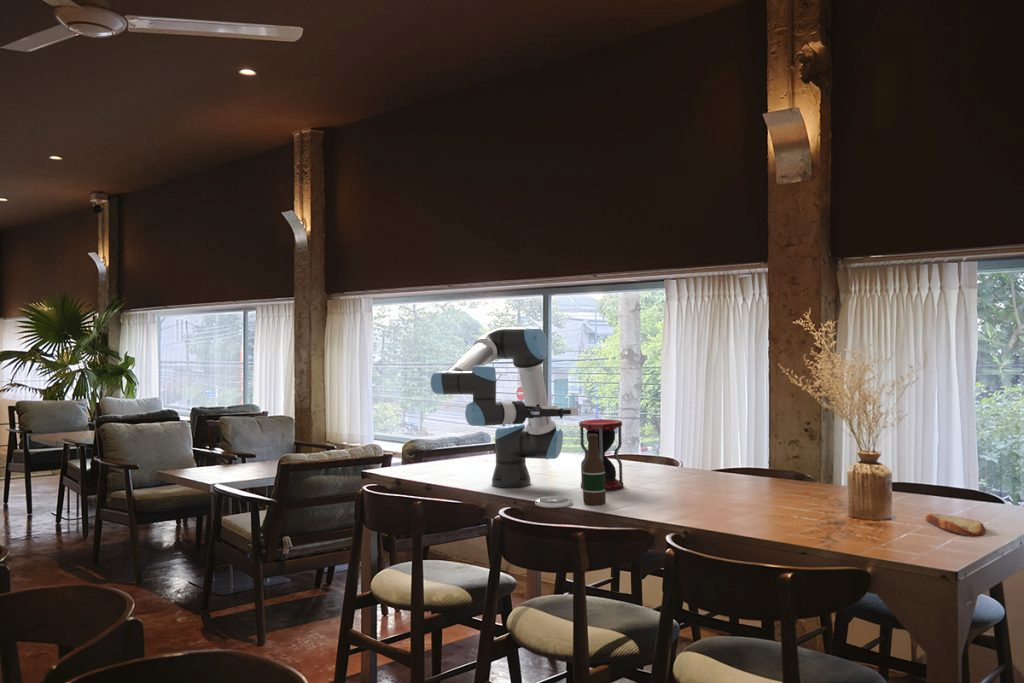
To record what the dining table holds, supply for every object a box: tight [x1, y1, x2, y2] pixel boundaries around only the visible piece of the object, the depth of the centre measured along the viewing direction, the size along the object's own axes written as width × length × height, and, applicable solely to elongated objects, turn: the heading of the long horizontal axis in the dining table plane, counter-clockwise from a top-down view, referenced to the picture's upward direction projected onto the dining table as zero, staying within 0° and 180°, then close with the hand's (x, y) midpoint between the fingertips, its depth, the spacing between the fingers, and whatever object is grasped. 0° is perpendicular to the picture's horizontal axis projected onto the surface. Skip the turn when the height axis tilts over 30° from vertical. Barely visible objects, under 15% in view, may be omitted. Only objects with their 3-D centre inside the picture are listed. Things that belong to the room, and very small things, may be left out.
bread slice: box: [924, 512, 987, 538], centre depth 240 cm, size 18×18×4 cm
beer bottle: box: [582, 434, 607, 506], centre depth 284 cm, size 8×8×24 cm
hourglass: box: [578, 418, 624, 492], centre depth 312 cm, size 16×16×25 cm
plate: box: [534, 495, 574, 509], centre depth 285 cm, size 13×13×1 cm
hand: (567, 410), depth 280 cm, fingers open, 13 cm apart
